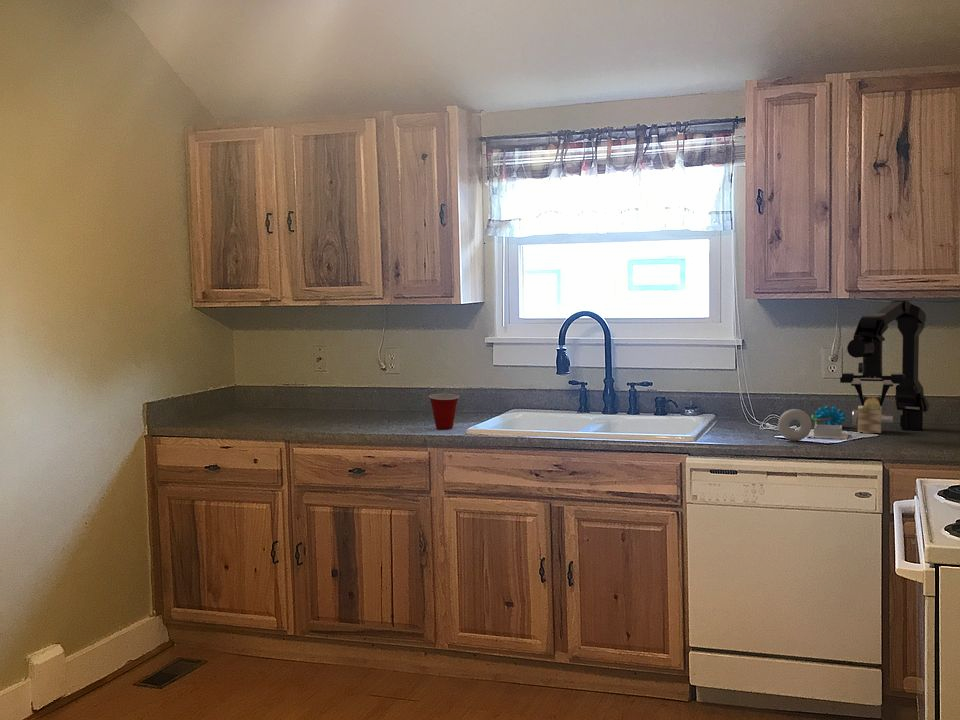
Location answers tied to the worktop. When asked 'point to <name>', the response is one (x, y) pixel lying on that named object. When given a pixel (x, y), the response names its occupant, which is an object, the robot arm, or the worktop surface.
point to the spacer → (871, 402)
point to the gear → (828, 416)
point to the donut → (794, 415)
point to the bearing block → (869, 420)
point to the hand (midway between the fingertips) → (871, 405)
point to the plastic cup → (444, 409)
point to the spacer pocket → (828, 432)
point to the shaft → (883, 417)
